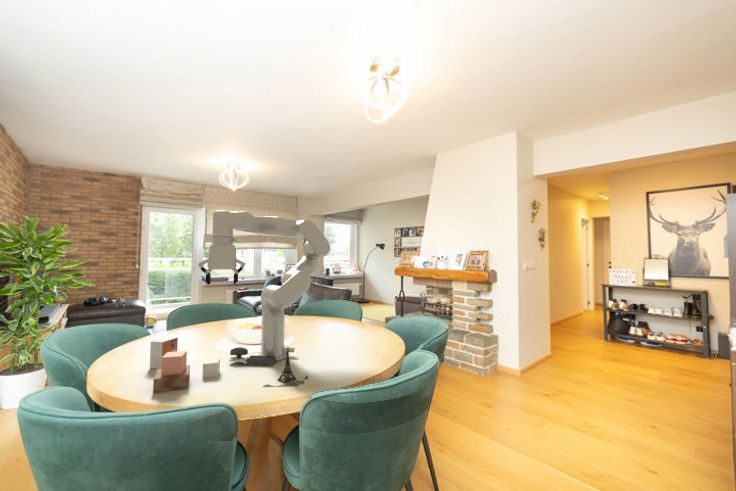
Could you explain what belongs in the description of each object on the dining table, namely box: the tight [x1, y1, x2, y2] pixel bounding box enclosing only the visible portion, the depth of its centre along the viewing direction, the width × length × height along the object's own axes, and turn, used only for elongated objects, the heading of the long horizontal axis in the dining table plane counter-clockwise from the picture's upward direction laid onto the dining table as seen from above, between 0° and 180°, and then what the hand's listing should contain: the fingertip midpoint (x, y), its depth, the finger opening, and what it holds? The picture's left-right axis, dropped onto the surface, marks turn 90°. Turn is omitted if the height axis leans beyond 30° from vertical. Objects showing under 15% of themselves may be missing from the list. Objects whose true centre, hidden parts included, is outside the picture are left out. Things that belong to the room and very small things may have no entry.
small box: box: [149, 336, 179, 370], centre depth 129 cm, size 8×6×10 cm
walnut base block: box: [152, 364, 191, 395], centre depth 110 cm, size 10×10×5 cm
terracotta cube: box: [161, 350, 188, 376], centre depth 110 cm, size 6×6×6 cm
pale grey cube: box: [202, 358, 221, 378], centre depth 121 cm, size 5×5×5 cm
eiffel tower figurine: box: [262, 346, 309, 388], centre depth 115 cm, size 15×10×13 cm
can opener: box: [228, 347, 277, 367], centre depth 133 cm, size 19×5×6 cm, turn 87°
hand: (222, 284), depth 129 cm, fingers open, 9 cm apart
